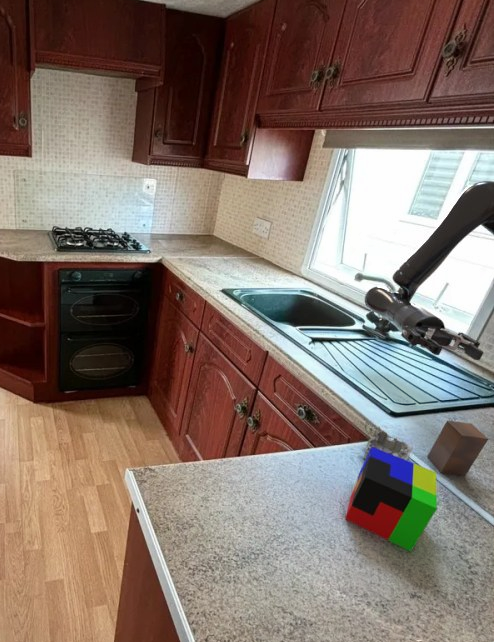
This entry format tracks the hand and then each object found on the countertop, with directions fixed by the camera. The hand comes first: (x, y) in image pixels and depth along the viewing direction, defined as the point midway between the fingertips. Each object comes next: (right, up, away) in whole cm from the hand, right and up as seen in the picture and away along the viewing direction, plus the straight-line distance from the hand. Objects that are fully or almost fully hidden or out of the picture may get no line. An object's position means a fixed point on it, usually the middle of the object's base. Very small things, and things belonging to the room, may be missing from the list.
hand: (459, 353), depth 87 cm
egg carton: (-16, -23, 0) cm, 28 cm away
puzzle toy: (-27, -29, -14) cm, 42 cm away
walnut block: (-3, -24, 0) cm, 24 cm away
